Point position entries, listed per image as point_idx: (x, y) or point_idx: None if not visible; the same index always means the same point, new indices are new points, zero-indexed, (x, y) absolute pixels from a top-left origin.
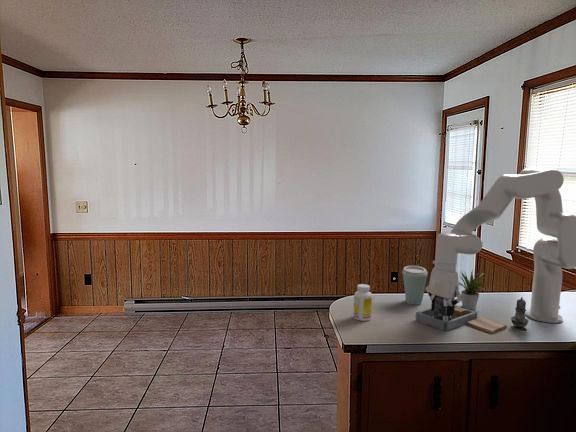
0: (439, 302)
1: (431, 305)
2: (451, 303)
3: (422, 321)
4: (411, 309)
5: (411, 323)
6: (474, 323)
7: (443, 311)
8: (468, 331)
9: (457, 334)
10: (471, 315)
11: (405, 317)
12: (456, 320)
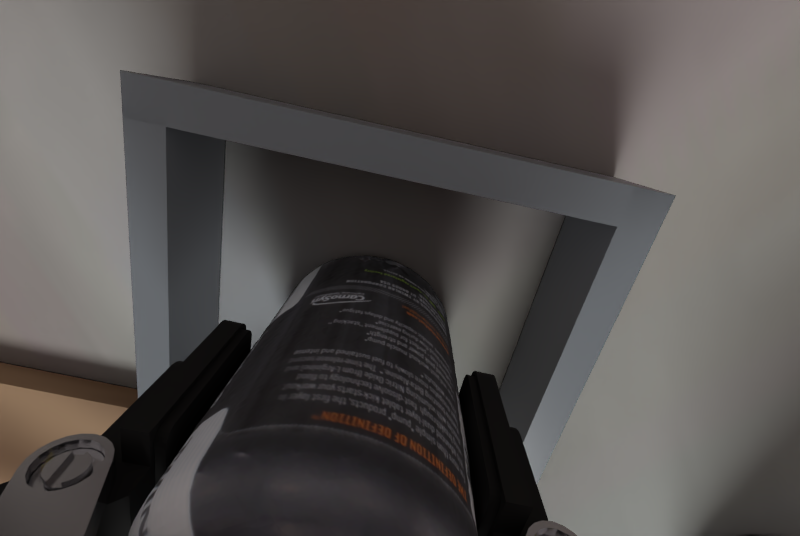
0: (305, 441)
1: (522, 445)
2: (10, 494)
3: (522, 157)
4: (729, 430)
5: (631, 7)
6: (100, 428)
7: (274, 339)
8: (65, 261)
9: (67, 91)
10: None
11: (752, 166)
12: (140, 307)
